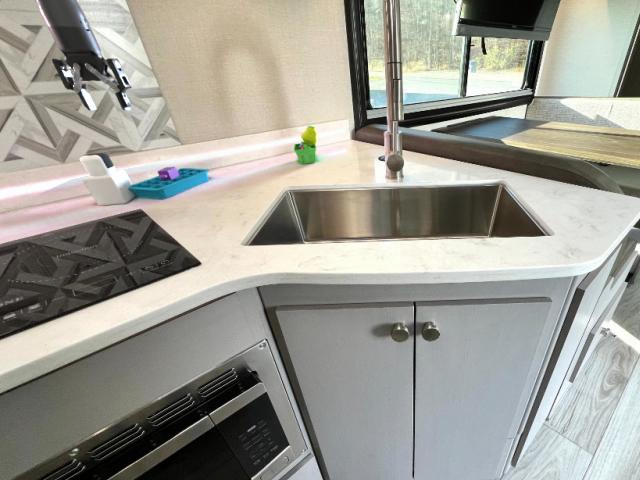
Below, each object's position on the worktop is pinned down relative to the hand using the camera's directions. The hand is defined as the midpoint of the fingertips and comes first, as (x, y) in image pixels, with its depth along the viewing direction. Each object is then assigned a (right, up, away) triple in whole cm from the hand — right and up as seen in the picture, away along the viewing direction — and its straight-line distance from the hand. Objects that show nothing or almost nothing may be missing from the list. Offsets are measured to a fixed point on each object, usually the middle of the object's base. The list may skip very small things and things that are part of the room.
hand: (110, 110), depth 80 cm
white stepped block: (-5, -21, +8) cm, 23 cm away
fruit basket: (+40, +4, +37) cm, 55 cm away
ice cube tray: (+5, -14, +16) cm, 22 cm away
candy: (+5, -12, +14) cm, 19 cm away
